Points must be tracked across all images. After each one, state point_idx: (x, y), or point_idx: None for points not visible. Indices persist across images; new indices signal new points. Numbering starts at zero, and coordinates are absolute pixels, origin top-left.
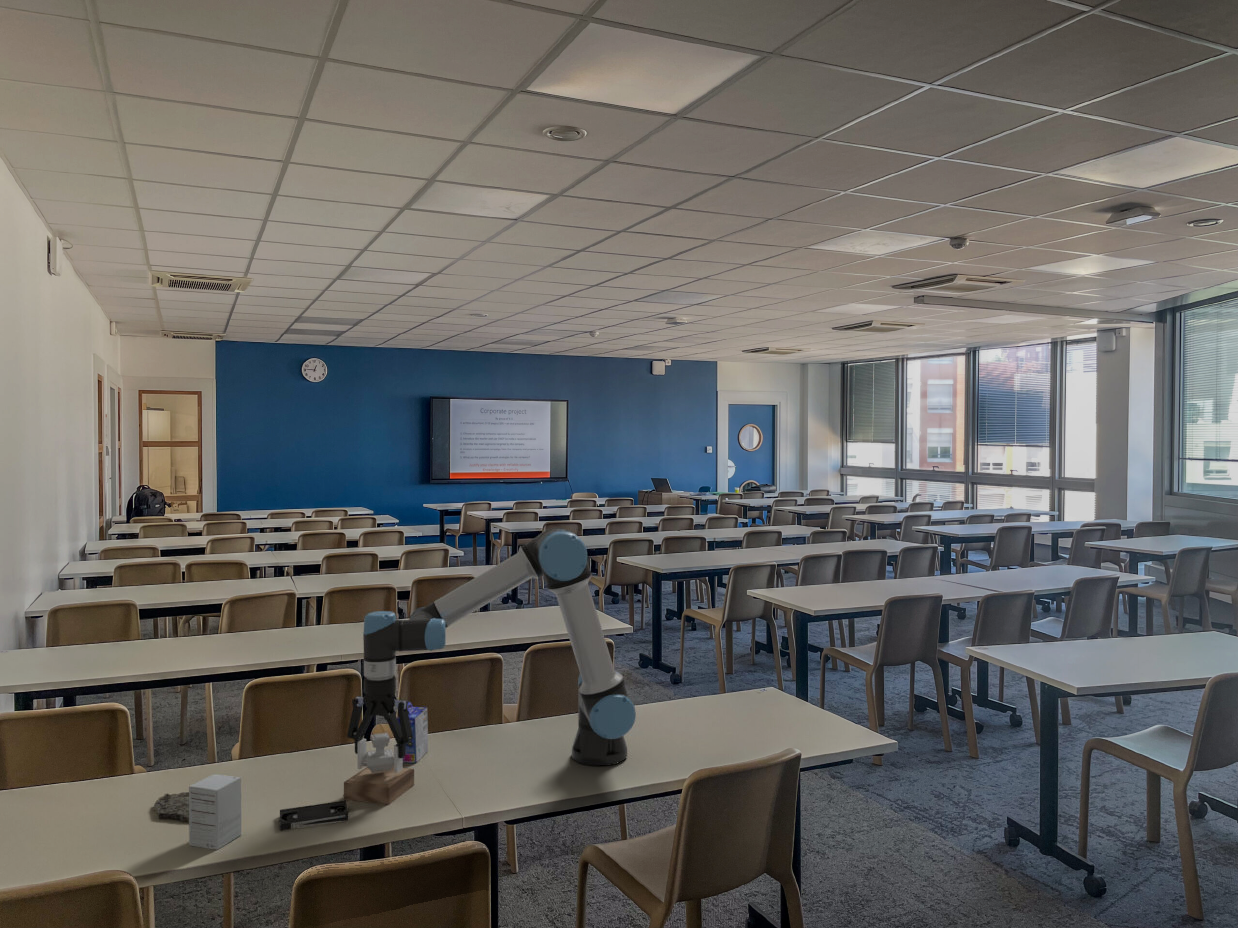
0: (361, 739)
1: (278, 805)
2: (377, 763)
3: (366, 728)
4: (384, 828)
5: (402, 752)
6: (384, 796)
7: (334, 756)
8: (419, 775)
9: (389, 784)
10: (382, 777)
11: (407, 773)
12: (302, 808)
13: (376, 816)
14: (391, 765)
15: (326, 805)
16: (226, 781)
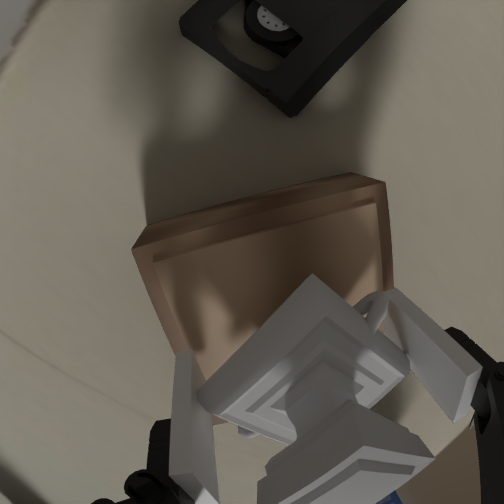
0: (472, 399)
1: (471, 56)
2: (268, 327)
3: (483, 468)
4: (18, 73)
5: (148, 447)
6: (162, 227)
7: (500, 359)
8: None
9: (159, 275)
10: (251, 312)
11: None
12: (381, 2)
13: (103, 114)
14: (216, 371)
15: (329, 46)
16: None
